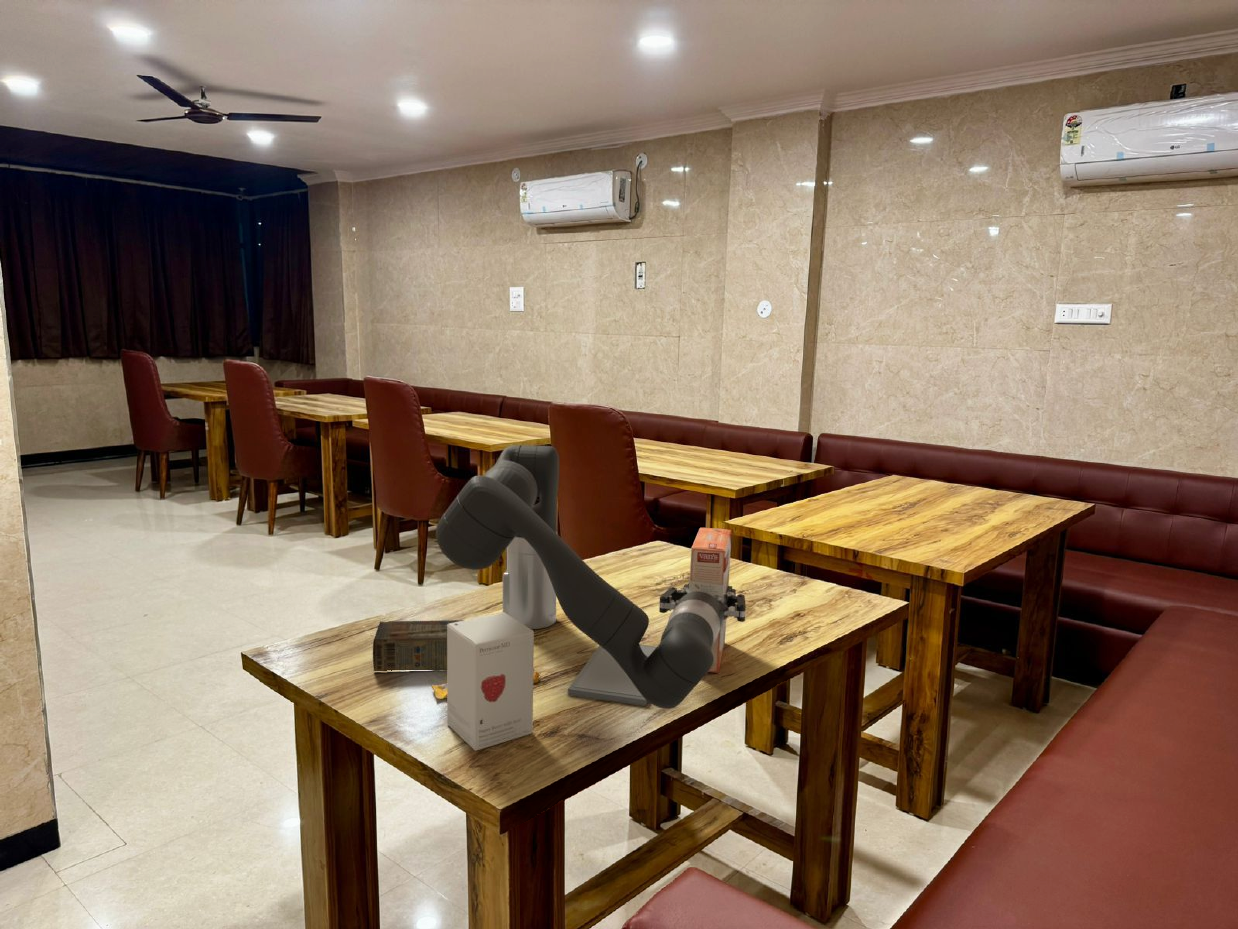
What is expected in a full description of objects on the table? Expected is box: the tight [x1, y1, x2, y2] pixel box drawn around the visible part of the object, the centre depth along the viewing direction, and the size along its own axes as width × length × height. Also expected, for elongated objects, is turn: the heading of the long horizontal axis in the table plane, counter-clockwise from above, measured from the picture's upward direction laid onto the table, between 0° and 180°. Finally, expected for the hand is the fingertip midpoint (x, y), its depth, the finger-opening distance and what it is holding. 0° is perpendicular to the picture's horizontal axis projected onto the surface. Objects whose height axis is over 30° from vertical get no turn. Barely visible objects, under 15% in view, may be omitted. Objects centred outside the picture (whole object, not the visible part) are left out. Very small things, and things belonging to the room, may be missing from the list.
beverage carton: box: [372, 619, 465, 672], centre depth 133 cm, size 8×19×7 cm, turn 99°
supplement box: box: [446, 611, 535, 752], centre depth 111 cm, size 9×9×15 cm
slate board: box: [567, 644, 657, 707], centre depth 131 cm, size 20×12×1 cm, turn 165°
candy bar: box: [430, 668, 542, 700], centre depth 125 cm, size 17×4×2 cm, turn 116°
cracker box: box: [689, 527, 732, 674], centre depth 137 cm, size 14×6×21 cm, turn 168°
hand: (710, 589), depth 137 cm, fingers closed on cracker box, 6 cm apart
